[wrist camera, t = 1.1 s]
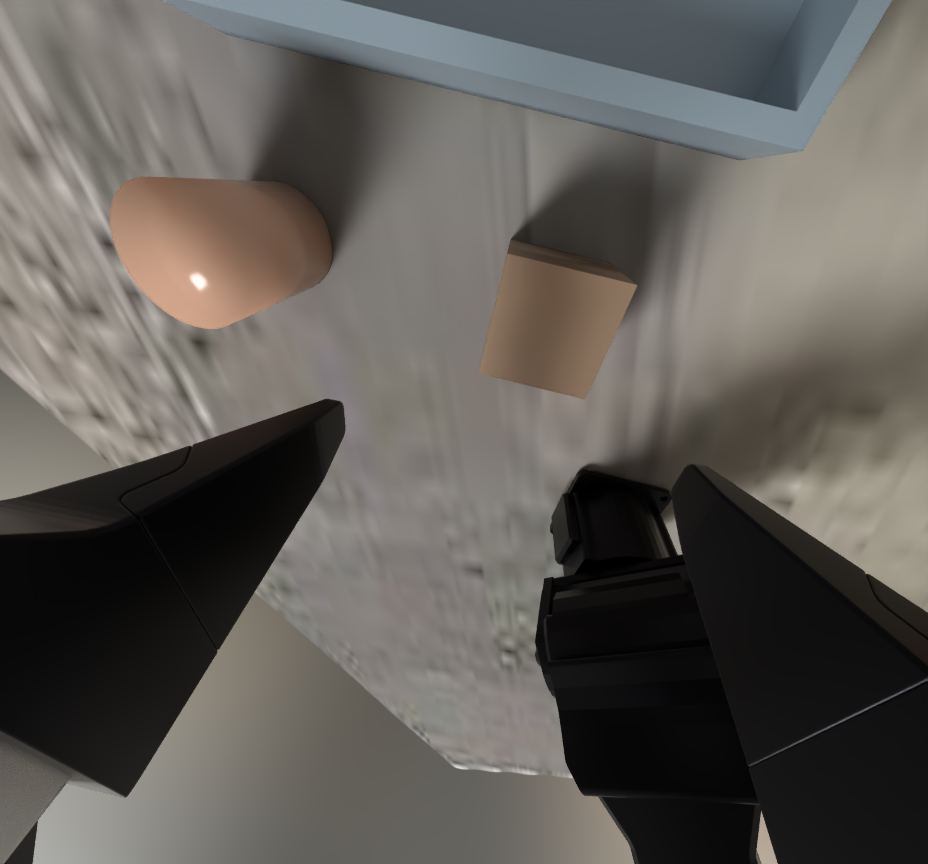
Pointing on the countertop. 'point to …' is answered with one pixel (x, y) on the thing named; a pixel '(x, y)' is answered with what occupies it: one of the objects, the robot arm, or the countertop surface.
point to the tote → (596, 57)
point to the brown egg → (218, 245)
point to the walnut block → (554, 319)
